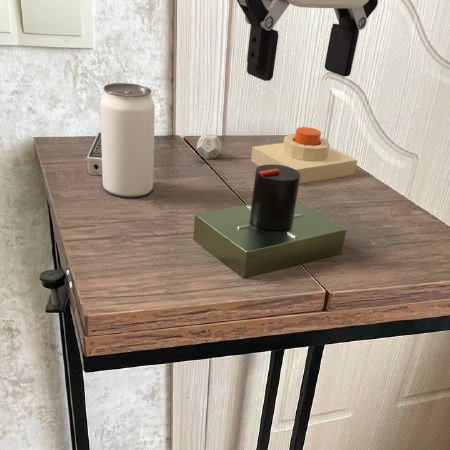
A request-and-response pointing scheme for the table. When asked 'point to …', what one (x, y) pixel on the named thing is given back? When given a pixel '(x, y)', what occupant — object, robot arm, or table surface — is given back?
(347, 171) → the button box
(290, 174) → the knob
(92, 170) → the multiport hub
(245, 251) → the panel
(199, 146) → the game die
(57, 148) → the table surface
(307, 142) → the button
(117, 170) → the can
